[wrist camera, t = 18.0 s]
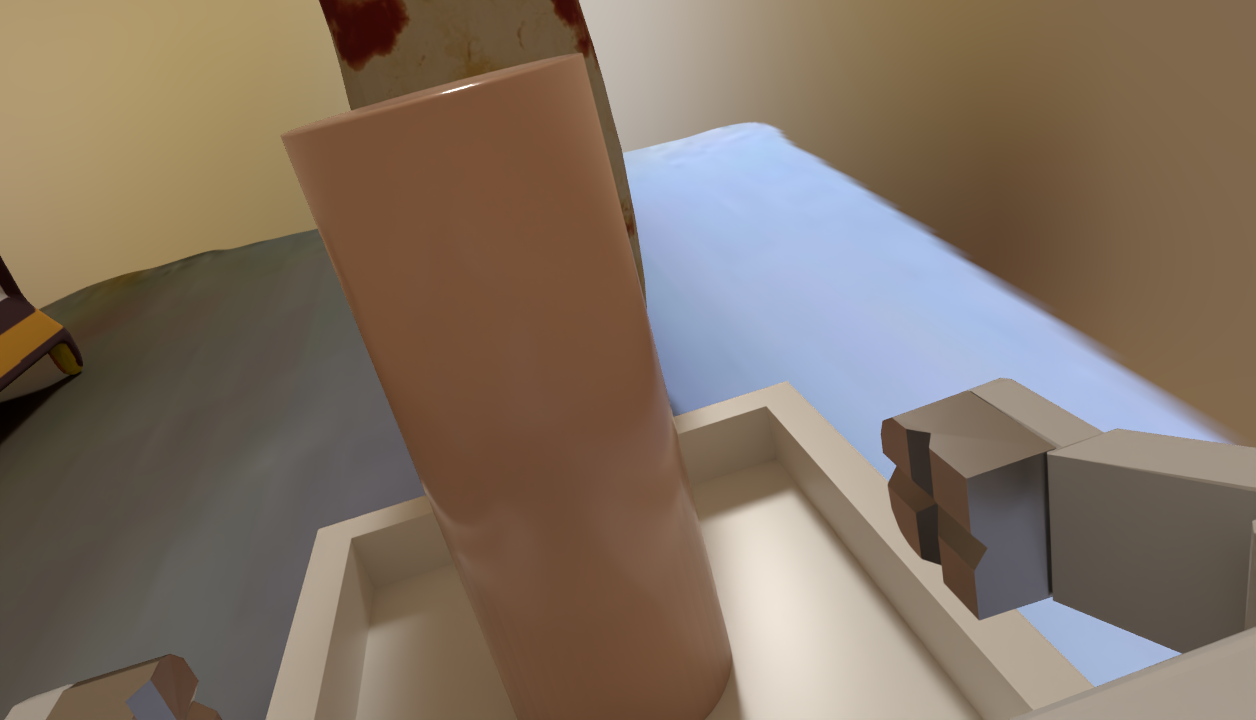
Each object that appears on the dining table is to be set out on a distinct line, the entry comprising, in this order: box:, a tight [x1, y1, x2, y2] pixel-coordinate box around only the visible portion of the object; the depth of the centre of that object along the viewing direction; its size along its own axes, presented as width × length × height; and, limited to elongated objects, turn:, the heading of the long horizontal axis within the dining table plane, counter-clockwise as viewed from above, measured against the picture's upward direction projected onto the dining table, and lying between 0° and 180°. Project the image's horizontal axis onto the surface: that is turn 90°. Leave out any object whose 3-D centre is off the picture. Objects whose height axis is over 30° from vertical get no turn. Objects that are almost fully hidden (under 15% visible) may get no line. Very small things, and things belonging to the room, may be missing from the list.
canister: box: [281, 53, 732, 720], centre depth 17 cm, size 6×6×14 cm
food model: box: [319, 0, 647, 309], centre depth 33 cm, size 10×7×20 cm
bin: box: [266, 381, 1094, 720], centre depth 20 cm, size 16×16×2 cm
